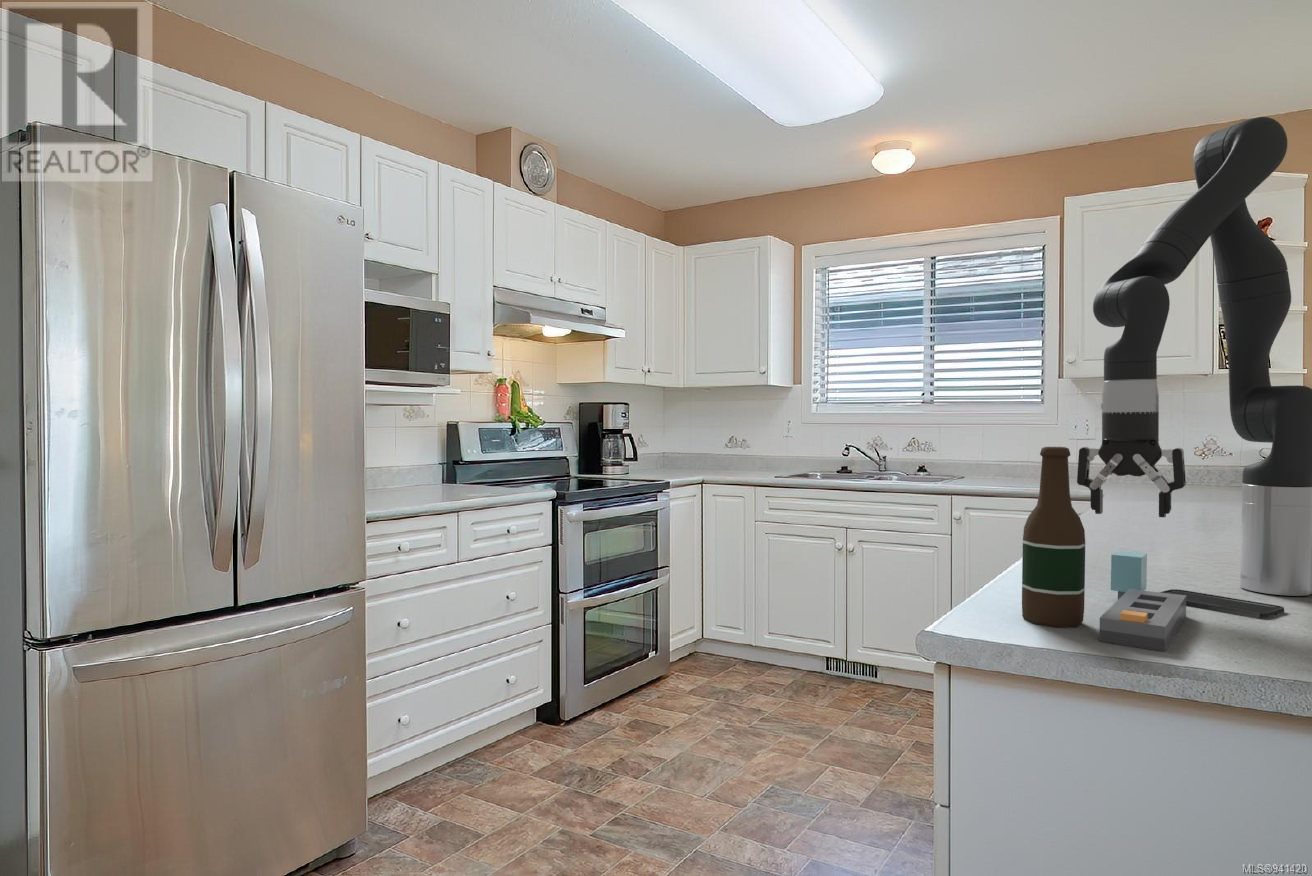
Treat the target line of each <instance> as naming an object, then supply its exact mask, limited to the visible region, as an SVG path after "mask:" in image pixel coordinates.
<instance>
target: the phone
mask: <svg viewBox="0 0 1312 876" xmlns="http://www.w3.org/2000/svg"><path fill="white" fill-rule="evenodd" d="M1160 592H1161V593H1169V594H1178V595H1186V607H1192V608H1198V609H1202V610H1209V611H1213V612H1214V611H1215V612H1220V613H1225V614H1232V615H1237V616H1243V617H1246V618H1247V617H1248V618H1252V619H1253V618H1254V619H1258V620H1259V619H1260V620H1261V619H1262V620H1265V619H1266V620H1267V619H1271V618H1274V617H1276V616H1280V615H1283V614H1285V607H1284V606H1281V605H1275V604H1271V603H1270V604H1269V603H1265V602H1264V603H1263V602H1256V601H1251V600H1246V599H1245V600H1244V599H1239V598H1233V597H1229V596H1228V597H1227V596H1223V595H1216V594H1215V595H1214V594H1209V593H1203V592H1198V591H1190V590H1185V589H1176V588H1175V589H1173V588H1172V589H1168V590H1163V591H1160Z"/></svg>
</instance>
